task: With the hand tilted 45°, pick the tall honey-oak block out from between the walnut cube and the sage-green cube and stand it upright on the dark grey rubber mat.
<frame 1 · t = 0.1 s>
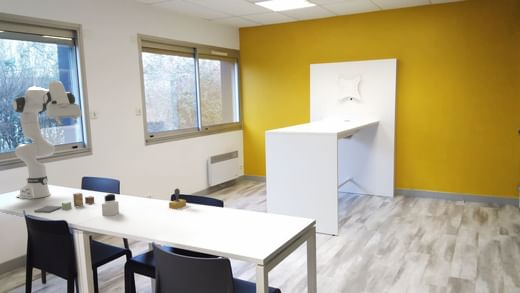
hand: (68, 123, 248), 54 cm above the table, tool tilted 30°, fingers open, 8 cm apart
sage cube: (66, 208, 255), on the table
oak block: (78, 205, 261), on the table
grey mat: (48, 209, 252), on the table
rubber stamp: (177, 207, 253), on the table
walnut cube: (89, 202, 268), on the table
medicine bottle: (110, 214, 240), on the table
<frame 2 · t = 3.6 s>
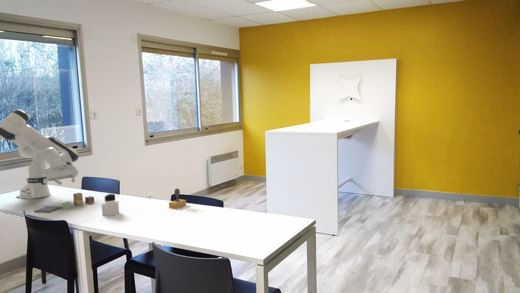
hand: (67, 182, 266), 14 cm above the table, tool tilted 45°, fingers open, 8 cm apart
nothing on the table moved.
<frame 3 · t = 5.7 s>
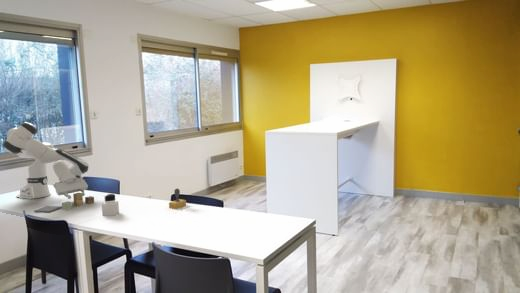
hand: (76, 196, 261), 6 cm above the table, tool tilted 45°, fingers open, 8 cm apart
nothing on the table moved.
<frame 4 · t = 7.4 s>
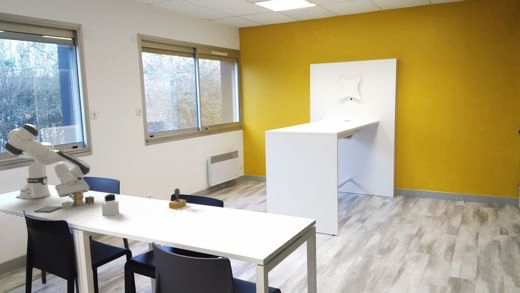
hand: (78, 198, 260), 5 cm above the table, tool tilted 45°, fingers closed on oak block, 4 cm apart
oak block: (78, 205, 261), on the table, touching gripper
everything else where it was.
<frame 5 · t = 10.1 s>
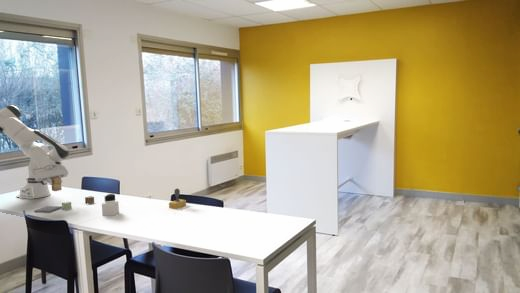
hand: (56, 183, 253), 16 cm above the table, tool tilted 45°, fingers closed on oak block, 4 cm apart
oak block: (56, 190, 254), point 12 cm above the table, touching gripper
everything else where it was.
when the fingers open (7 cm above the table, at t = 13.0 s): oak block drops 1 cm, resting on grey mat.
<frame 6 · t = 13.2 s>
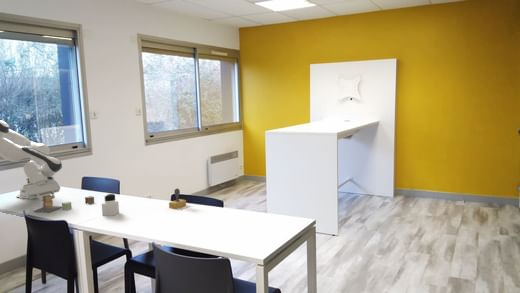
hand: (48, 199, 251), 7 cm above the table, tool tilted 45°, fingers open, 6 cm apart
oak block: (48, 208, 252), point 1 cm above the table, touching grey mat
everything else where it was.
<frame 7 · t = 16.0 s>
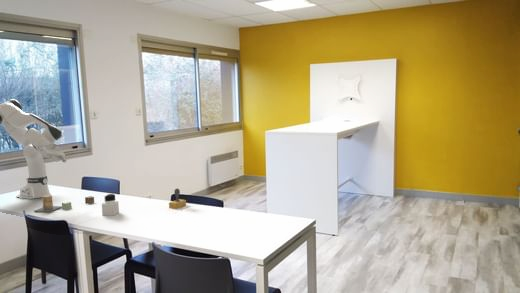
hand: (61, 161, 253), 30 cm above the table, tool tilted 50°, fingers open, 8 cm apart
nothing on the table moved.
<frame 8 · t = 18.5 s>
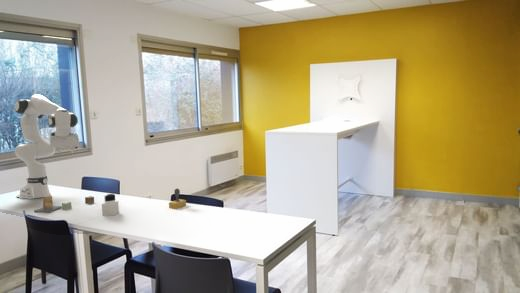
hand: (65, 153, 268), 33 cm above the table, tool pointing down, fingers open, 8 cm apart
nothing on the table moved.
at the end: oak block inside the target area on the grey mat (0.1 cm from its centre), point 1.0 cm above the grey mat's base; oak block tilted 0°; sage cube moved 0.1 cm from its start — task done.
